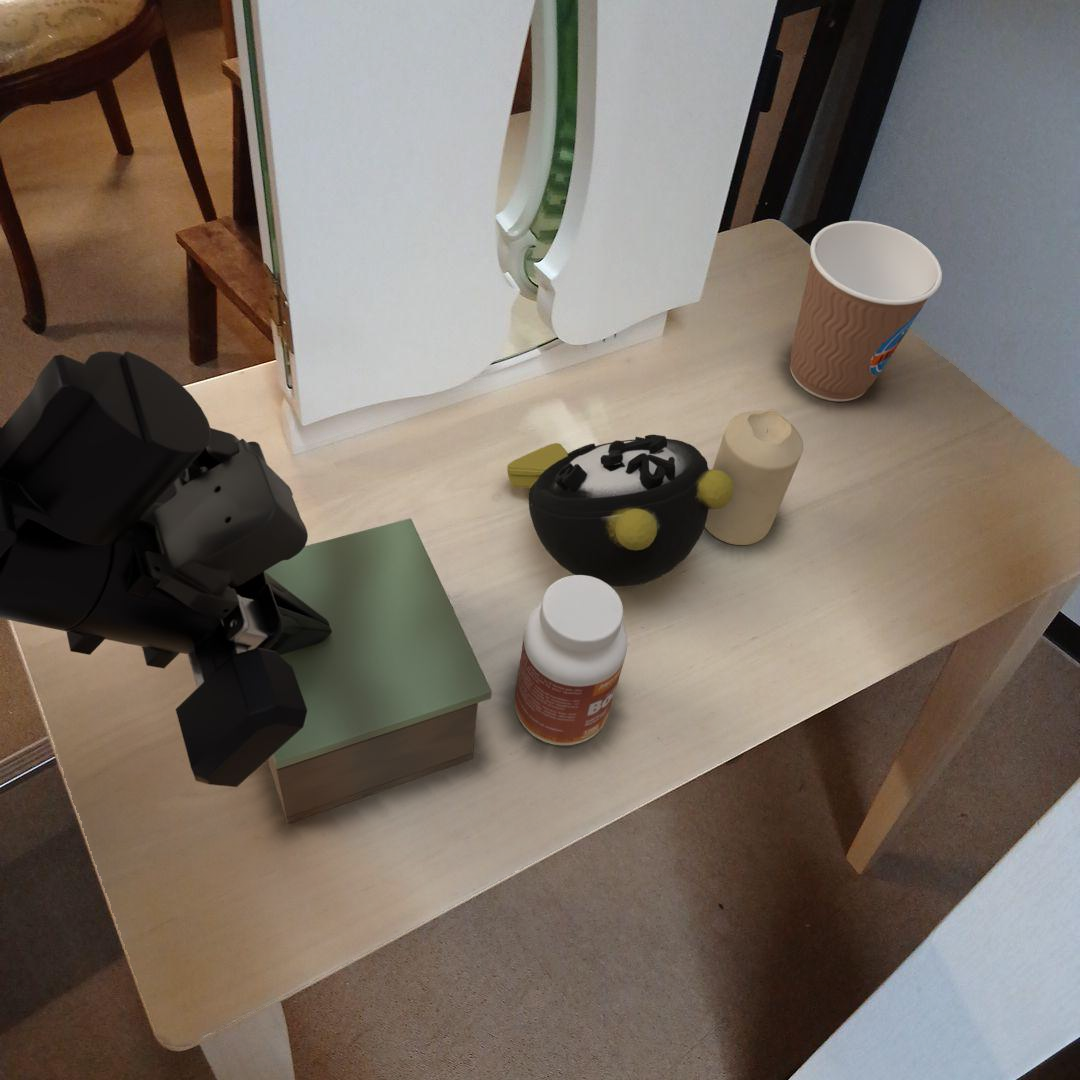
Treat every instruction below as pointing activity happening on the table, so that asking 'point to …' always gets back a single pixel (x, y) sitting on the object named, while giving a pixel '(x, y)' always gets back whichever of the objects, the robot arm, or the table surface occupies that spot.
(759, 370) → the table surface
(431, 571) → the lid
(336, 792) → the chest
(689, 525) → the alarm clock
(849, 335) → the coffee cup
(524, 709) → the pill bottle
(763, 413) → the candle
